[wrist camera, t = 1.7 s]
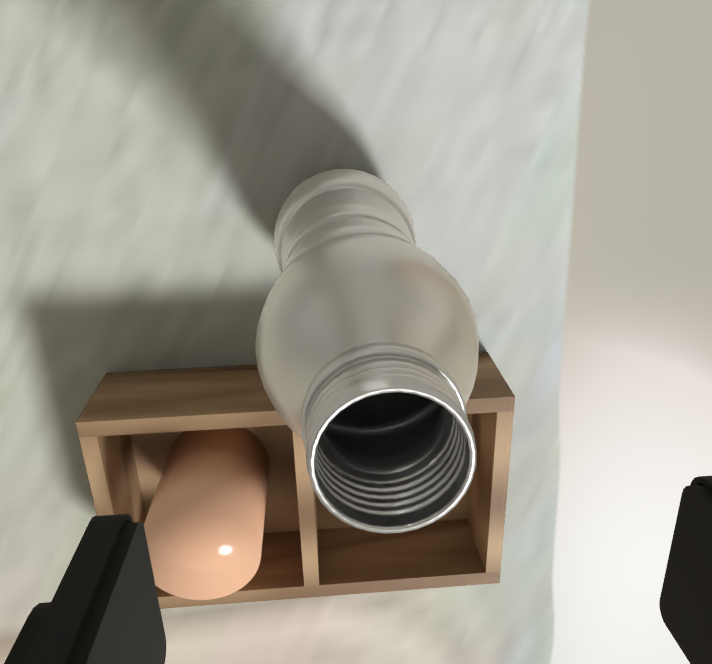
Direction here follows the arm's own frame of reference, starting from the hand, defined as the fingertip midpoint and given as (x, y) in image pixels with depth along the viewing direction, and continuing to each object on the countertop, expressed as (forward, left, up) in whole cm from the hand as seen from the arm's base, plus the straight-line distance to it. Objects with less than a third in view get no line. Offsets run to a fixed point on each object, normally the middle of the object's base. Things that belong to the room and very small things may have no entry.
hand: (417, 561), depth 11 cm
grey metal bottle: (0, 0, -23) cm, 23 cm away
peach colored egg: (+13, -8, -22) cm, 26 cm away
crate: (+13, -3, -23) cm, 26 cm away
